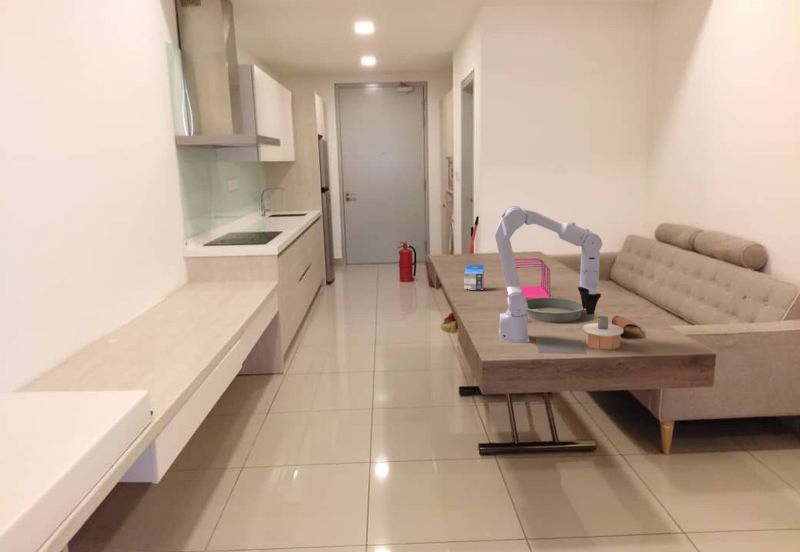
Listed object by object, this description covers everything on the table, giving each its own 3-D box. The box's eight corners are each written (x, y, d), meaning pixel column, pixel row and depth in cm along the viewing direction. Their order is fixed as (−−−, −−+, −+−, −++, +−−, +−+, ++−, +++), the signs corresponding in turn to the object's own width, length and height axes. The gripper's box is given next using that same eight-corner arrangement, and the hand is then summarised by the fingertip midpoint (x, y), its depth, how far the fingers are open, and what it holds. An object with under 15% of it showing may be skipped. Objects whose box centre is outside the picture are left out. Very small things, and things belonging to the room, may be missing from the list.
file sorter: (510, 301, 239) (510, 266, 236) (505, 289, 264) (506, 257, 261) (552, 301, 237) (552, 265, 235) (543, 289, 262) (543, 256, 259)
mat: (539, 354, 171) (539, 352, 170) (535, 340, 184) (535, 339, 184) (586, 355, 168) (586, 353, 168) (579, 341, 182) (579, 339, 182)
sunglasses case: (647, 338, 182) (637, 321, 182) (627, 348, 184) (617, 331, 183) (636, 324, 199) (626, 308, 199) (617, 333, 201) (608, 317, 201)
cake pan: (521, 323, 206) (521, 311, 205) (517, 307, 229) (517, 296, 229) (590, 324, 202) (591, 312, 201) (579, 307, 226) (579, 297, 225)
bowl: (589, 350, 173) (590, 334, 172) (584, 341, 182) (584, 326, 181) (622, 351, 171) (622, 335, 170) (615, 341, 180) (615, 326, 180)
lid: (586, 336, 171) (587, 322, 170) (579, 325, 182) (580, 312, 182) (627, 336, 169) (628, 322, 168) (617, 325, 181) (618, 312, 180)
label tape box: (464, 290, 264) (463, 265, 262) (465, 288, 268) (465, 263, 265) (482, 291, 261) (482, 265, 259) (484, 289, 265) (483, 264, 262)
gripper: (607, 274, 171) (605, 317, 173) (598, 266, 185) (597, 306, 187) (583, 274, 172) (581, 316, 174) (576, 266, 186) (575, 305, 188)
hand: (588, 311), depth 181 cm, fingers open, 7 cm apart
